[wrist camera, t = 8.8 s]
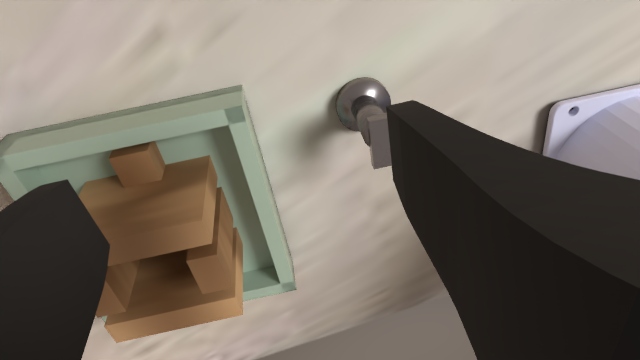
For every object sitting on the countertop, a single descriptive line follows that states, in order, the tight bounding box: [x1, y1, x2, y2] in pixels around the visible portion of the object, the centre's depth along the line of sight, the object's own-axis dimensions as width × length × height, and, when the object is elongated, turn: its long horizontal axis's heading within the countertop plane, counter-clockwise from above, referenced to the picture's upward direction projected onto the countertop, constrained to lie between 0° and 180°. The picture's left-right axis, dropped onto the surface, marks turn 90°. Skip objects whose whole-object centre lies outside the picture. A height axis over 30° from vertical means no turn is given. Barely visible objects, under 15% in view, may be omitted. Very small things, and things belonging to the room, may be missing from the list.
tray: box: [0, 85, 296, 322], centre depth 21 cm, size 10×11×2 cm
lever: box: [336, 77, 392, 169], centre depth 18 cm, size 2×2×3 cm
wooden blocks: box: [79, 141, 243, 343], centre depth 19 cm, size 6×7×4 cm
